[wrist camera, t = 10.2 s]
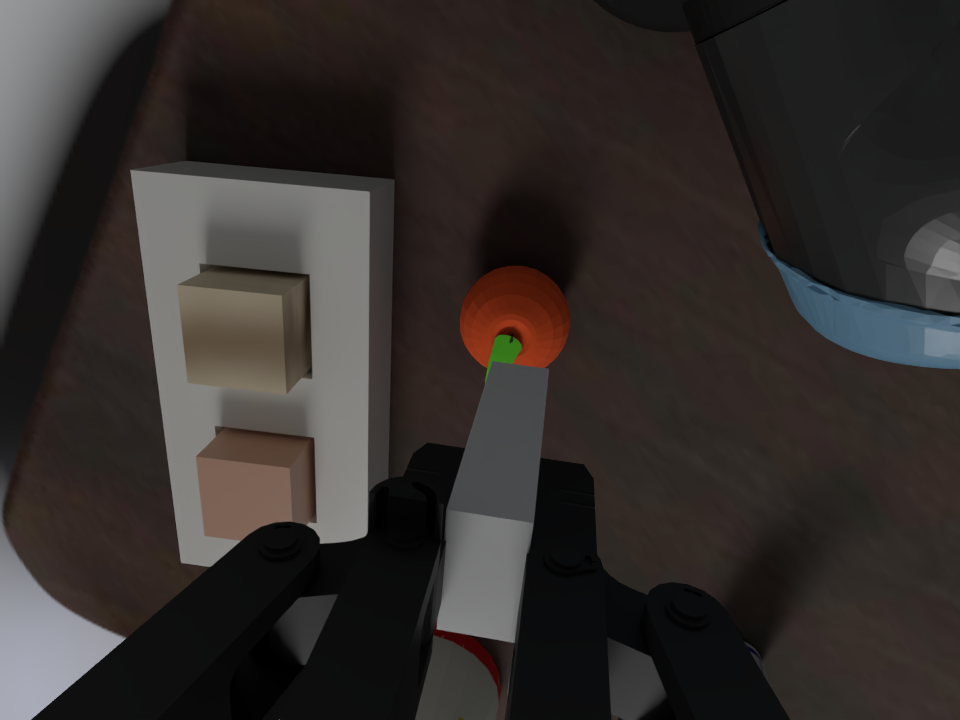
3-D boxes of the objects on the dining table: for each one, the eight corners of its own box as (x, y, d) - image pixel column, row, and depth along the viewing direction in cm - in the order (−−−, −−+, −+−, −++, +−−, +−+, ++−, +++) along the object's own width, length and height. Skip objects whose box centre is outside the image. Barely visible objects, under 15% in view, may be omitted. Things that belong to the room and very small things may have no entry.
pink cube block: (239, 413, 46) (195, 456, 40) (322, 422, 45) (289, 468, 40) (245, 485, 48) (204, 535, 42) (324, 495, 47) (293, 547, 42)
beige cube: (227, 259, 41) (177, 284, 36) (318, 269, 41) (281, 295, 35) (234, 347, 44) (187, 383, 38) (320, 356, 43) (286, 394, 38)
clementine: (538, 379, 46) (535, 427, 39) (447, 343, 45) (428, 384, 39) (586, 278, 43) (591, 311, 36) (489, 237, 42) (476, 263, 36)
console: (185, 160, 43) (130, 170, 37) (394, 179, 42) (369, 191, 36) (220, 514, 53) (181, 562, 48) (387, 536, 52) (366, 588, 47)
